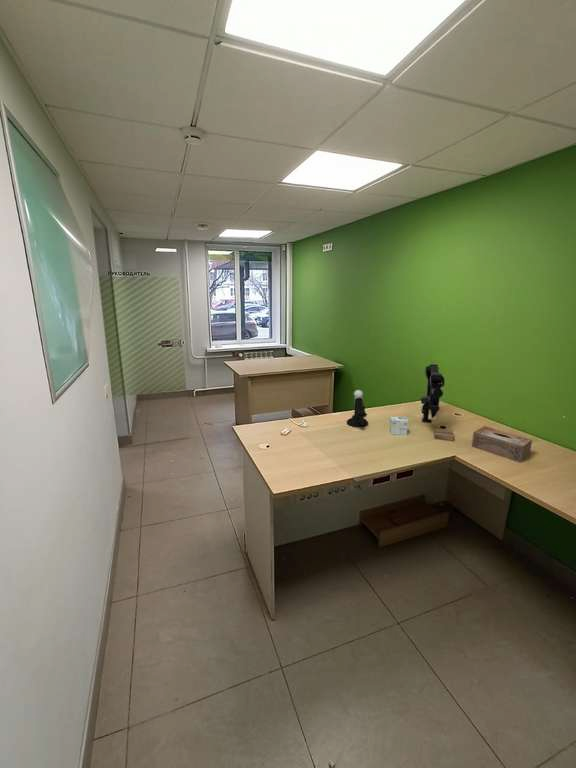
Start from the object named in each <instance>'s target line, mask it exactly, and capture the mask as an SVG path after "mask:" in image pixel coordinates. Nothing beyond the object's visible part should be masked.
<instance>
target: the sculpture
mask: <svg viewBox="0 0 576 768" xmlns="http://www.w3.org/2000/svg"><path fill="white" fill-rule="evenodd" d="M353 395H354V399H353V402H354V404H353V405H354V411H353V415H352V416H351V417H350V418H348V419H347V420H346V425H348V426H349V427H351V426H352V427H353V428H366V427H367V426H368V425H369V421H368V420H367V419H366V418H365V417H367V416H368V414H367V412H366V410H365V409H366V406H365V405H364V402H363V399H364V398H363V396H364V392H363V391H362V390H360V389H357V390H355V391H354V392H353Z"/></svg>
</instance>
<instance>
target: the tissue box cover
mask: <svg viewBox="0 0 576 768" xmlns="http://www.w3.org/2000/svg"><path fill="white" fill-rule="evenodd" d="M532 443H533V439H532V438H529V437H526V436H522V435H518V434H515V433H511V432H507V431H504V430H500V429H498V428H497V429H496V428H493V427H489V426H487V425H486V426H485V425H483V426H482V427H480V428H478V429H476V430H474V431H473V435H472V440H471V447H472V448H475V449H478V450H480V451H484V452H486V453H490V454H492V455H496V456H499V457H501V458H505V459H507V460H510V461H514V462H516V463H520V464H521V463H522V462H523V461H524V460H525V459H526V458H528V457H529V456H530V455H531V449H532V445H533V444H532Z"/></svg>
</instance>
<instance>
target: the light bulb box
mask: <svg viewBox="0 0 576 768" xmlns="http://www.w3.org/2000/svg"><path fill="white" fill-rule="evenodd" d="M389 418H390V419H389V420H390V421H389V434H390V435H392V436H407V435H408V428H409V427H408V426H409V419H408V418H407V416H390V417H389Z"/></svg>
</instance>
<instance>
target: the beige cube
mask: <svg viewBox="0 0 576 768" xmlns="http://www.w3.org/2000/svg"><path fill="white" fill-rule="evenodd" d="M438 411H439V410H438ZM438 411H437V413H436V415H435V416H434V418H432V415H431V410H430V409H429V416H428V419H432V420H433V421H437V418H438Z"/></svg>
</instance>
